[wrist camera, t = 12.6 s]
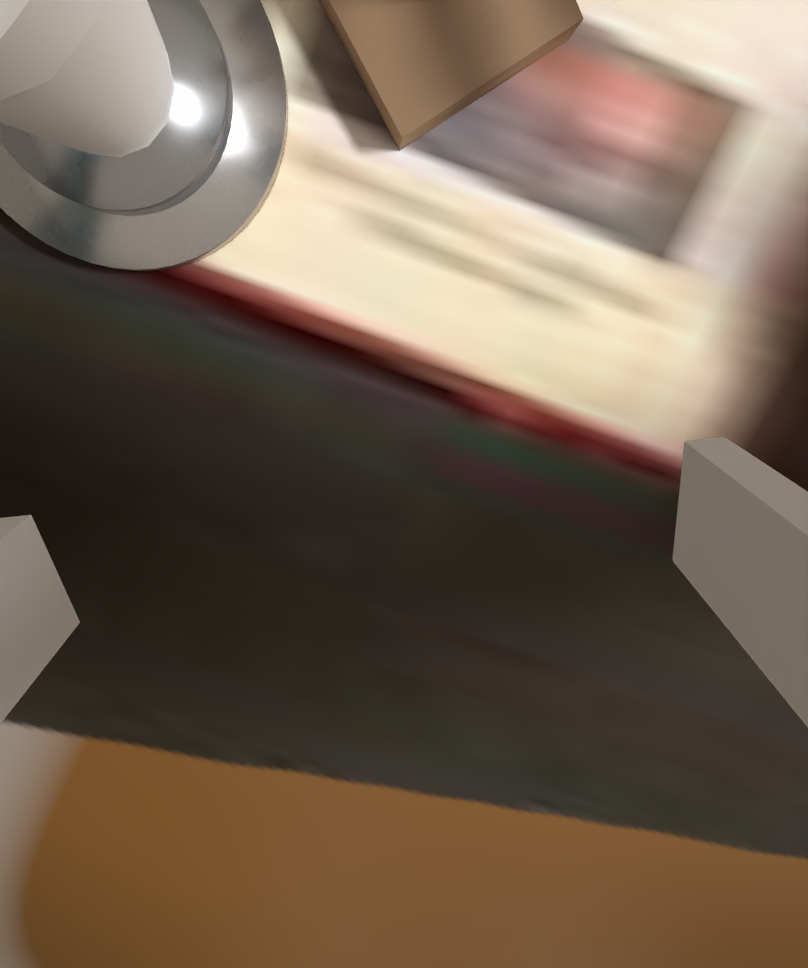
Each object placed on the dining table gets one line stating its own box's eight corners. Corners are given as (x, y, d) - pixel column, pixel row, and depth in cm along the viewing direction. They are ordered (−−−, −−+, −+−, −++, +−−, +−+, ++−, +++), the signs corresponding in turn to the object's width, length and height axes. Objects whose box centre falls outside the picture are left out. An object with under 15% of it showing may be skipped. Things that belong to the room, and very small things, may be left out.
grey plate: (198, -163, 25) (181, -215, 23) (337, 203, 30) (336, 192, 27) (-125, -24, 26) (-176, -61, 23) (59, 317, 30) (33, 316, 28)
